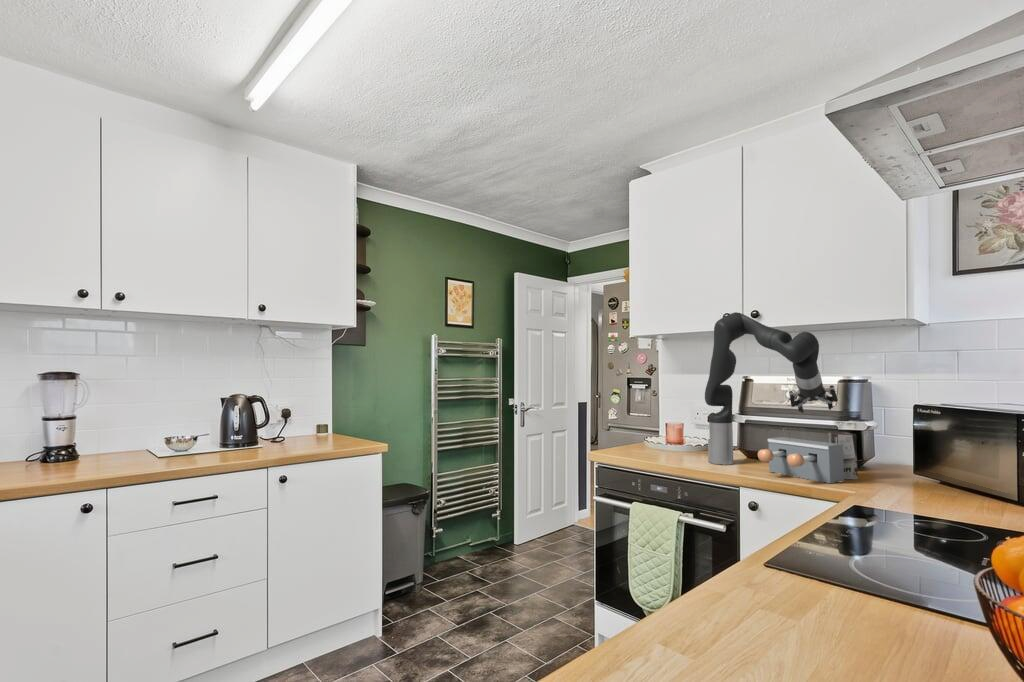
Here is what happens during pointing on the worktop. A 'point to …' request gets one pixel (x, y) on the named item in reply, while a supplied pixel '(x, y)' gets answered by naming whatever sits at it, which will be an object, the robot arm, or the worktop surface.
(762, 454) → the knob
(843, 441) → the coffee box
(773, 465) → the control box
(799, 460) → the knob
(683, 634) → the worktop surface
